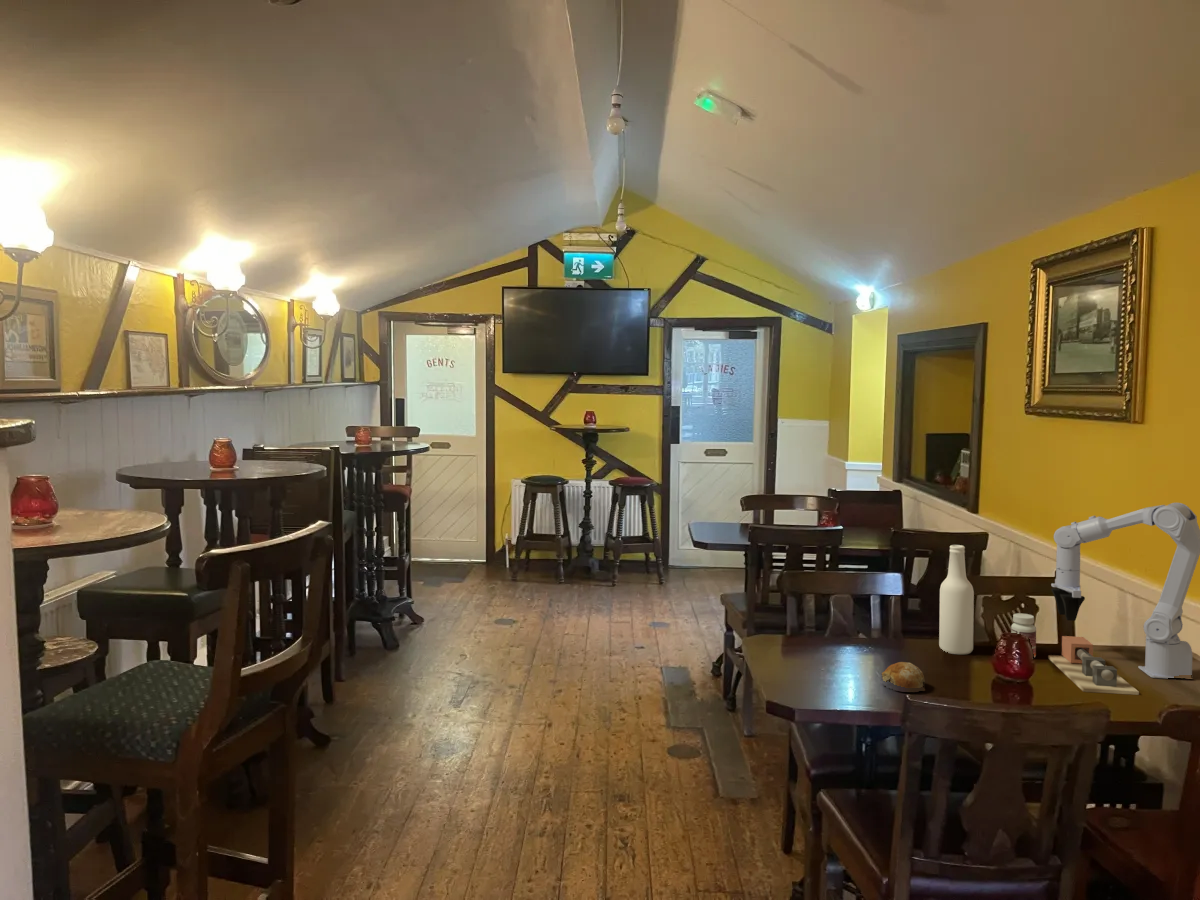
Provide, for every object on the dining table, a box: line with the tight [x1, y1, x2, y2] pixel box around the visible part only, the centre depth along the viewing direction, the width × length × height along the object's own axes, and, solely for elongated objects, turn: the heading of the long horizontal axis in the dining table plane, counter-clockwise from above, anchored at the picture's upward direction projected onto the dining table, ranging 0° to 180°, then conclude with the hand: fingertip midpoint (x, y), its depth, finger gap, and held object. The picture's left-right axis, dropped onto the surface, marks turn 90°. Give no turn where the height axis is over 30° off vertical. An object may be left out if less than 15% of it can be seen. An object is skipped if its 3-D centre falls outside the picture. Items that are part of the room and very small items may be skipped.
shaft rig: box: [1047, 647, 1140, 696], centre depth 206 cm, size 26×12×5 cm, turn 168°
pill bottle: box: [1010, 612, 1037, 658], centre depth 222 cm, size 6×6×11 cm
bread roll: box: [881, 661, 926, 688], centre depth 200 cm, size 10×10×8 cm
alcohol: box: [938, 544, 975, 656], centre depth 227 cm, size 9×9×30 cm
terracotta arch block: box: [1061, 635, 1094, 663], centre depth 215 cm, size 7×5×5 cm
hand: (1067, 617), depth 222 cm, fingers open, 5 cm apart
